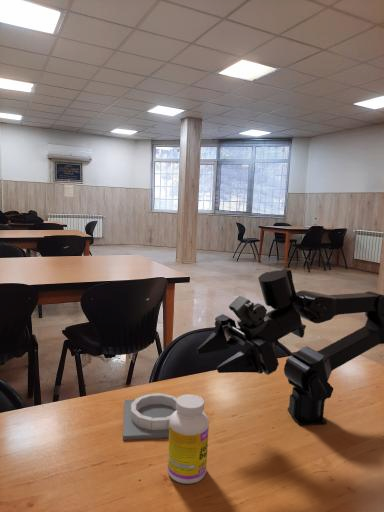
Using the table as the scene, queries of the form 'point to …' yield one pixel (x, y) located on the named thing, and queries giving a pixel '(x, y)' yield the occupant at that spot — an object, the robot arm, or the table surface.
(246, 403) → the table surface
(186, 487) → the table surface
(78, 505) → the table surface
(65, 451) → the table surface
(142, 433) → the socket plate
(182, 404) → the supplement bottle
